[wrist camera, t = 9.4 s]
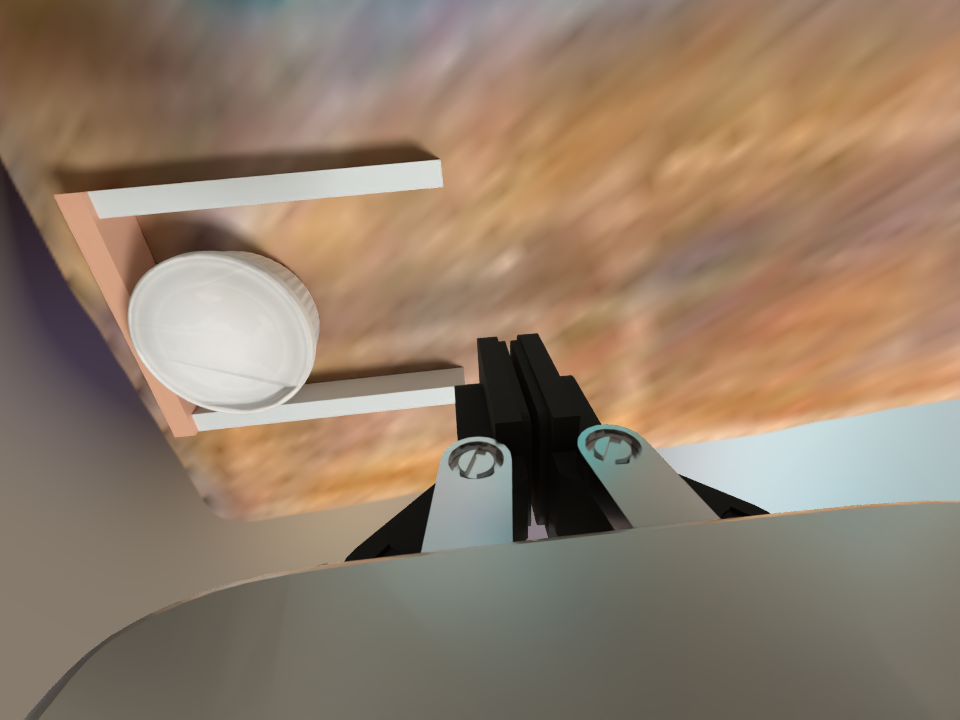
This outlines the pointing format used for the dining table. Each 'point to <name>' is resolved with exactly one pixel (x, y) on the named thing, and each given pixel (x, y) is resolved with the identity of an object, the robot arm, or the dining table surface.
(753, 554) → the robot arm
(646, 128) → the dining table surface
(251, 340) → the ramekin
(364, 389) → the bay
